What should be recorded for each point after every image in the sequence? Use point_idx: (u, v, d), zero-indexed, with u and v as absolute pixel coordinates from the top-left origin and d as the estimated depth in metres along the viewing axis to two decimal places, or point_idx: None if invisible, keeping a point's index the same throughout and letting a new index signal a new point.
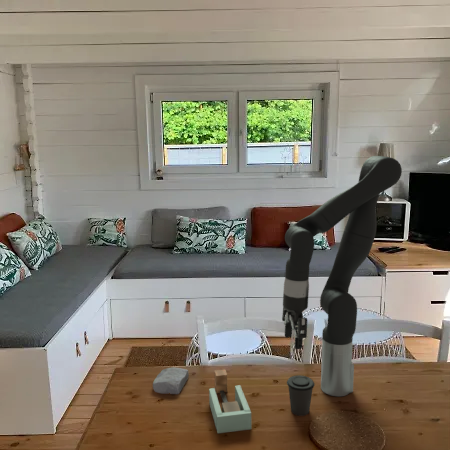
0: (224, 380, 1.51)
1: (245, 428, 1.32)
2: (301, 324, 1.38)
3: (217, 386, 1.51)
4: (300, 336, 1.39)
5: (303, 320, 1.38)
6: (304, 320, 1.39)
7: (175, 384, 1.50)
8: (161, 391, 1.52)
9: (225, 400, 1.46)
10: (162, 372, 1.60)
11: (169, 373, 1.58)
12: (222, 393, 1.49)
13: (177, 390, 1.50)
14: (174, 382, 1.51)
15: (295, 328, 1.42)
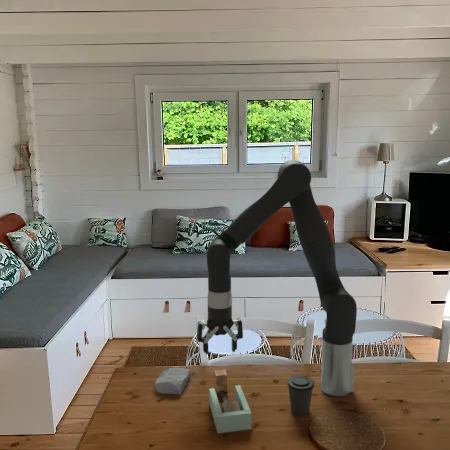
0: (224, 380, 1.51)
1: (245, 428, 1.32)
2: None
3: (217, 386, 1.51)
4: None
5: None
6: (240, 320, 1.50)
7: (177, 384, 1.50)
8: (163, 391, 1.51)
9: (225, 400, 1.46)
10: (164, 372, 1.59)
11: (171, 373, 1.57)
12: (222, 393, 1.49)
13: (179, 390, 1.50)
14: (176, 382, 1.51)
15: (233, 333, 1.49)
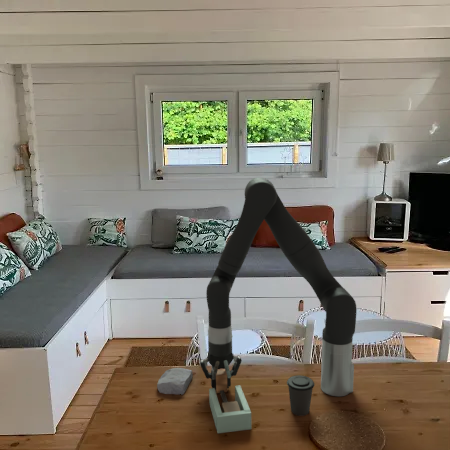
0: (224, 380, 1.51)
1: (245, 428, 1.32)
2: None
3: (217, 386, 1.51)
4: None
5: None
6: None
7: (180, 384, 1.50)
8: (166, 391, 1.51)
9: (225, 400, 1.46)
10: (166, 372, 1.59)
11: (173, 373, 1.57)
12: (222, 393, 1.49)
13: (182, 390, 1.50)
14: (178, 382, 1.51)
15: (229, 370, 1.51)
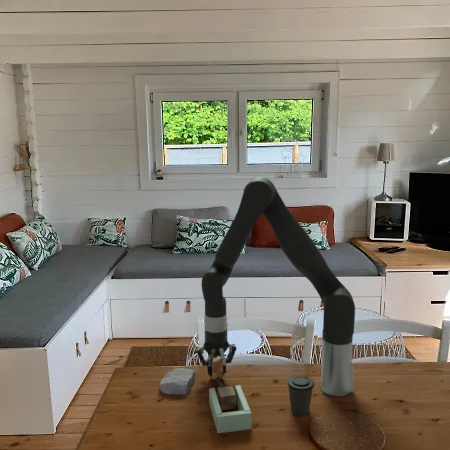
0: (220, 367, 1.57)
1: (245, 428, 1.32)
2: None
3: (213, 373, 1.57)
4: None
5: None
6: None
7: (182, 385, 1.50)
8: (168, 392, 1.51)
9: (221, 386, 1.52)
10: (168, 373, 1.59)
11: (176, 374, 1.57)
12: (218, 379, 1.56)
13: (184, 391, 1.50)
14: (181, 383, 1.50)
15: (224, 357, 1.58)
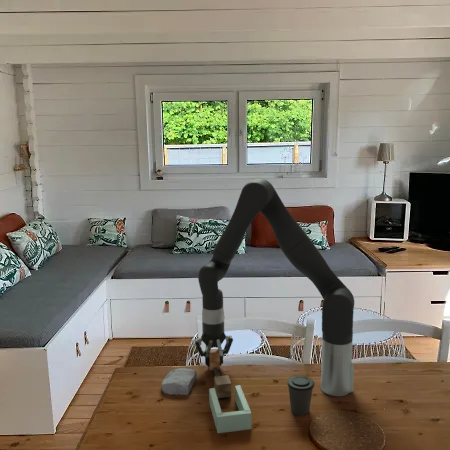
0: (217, 358, 1.64)
1: (245, 428, 1.32)
2: None
3: (210, 363, 1.64)
4: None
5: None
6: None
7: (184, 385, 1.50)
8: (170, 392, 1.51)
9: (218, 375, 1.59)
10: (170, 373, 1.59)
11: (177, 374, 1.57)
12: (215, 369, 1.63)
13: (186, 391, 1.50)
14: (183, 383, 1.50)
15: (221, 348, 1.64)
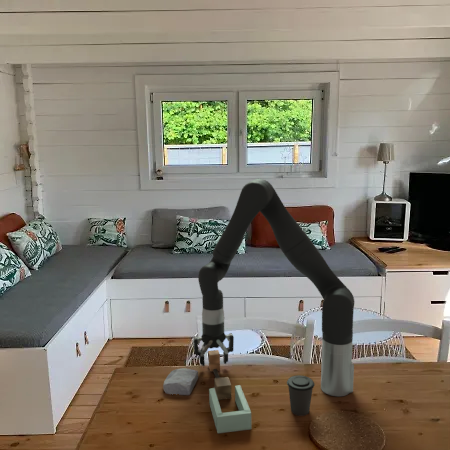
0: (217, 359, 1.64)
1: (245, 428, 1.32)
2: None
3: (210, 365, 1.64)
4: None
5: (232, 335, 1.65)
6: (232, 335, 1.66)
7: (186, 385, 1.50)
8: (172, 392, 1.51)
9: (218, 377, 1.59)
10: (172, 373, 1.59)
11: (179, 374, 1.57)
12: (215, 371, 1.63)
13: (188, 391, 1.50)
14: (185, 383, 1.50)
15: (224, 347, 1.64)
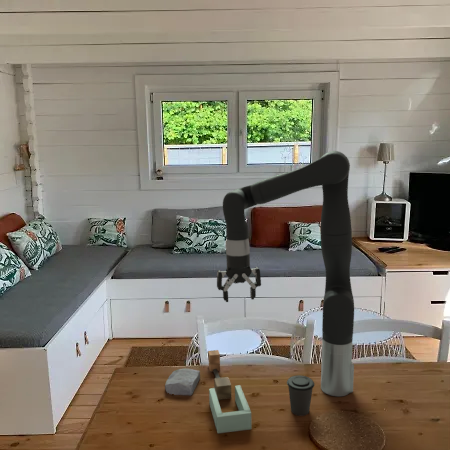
0: (217, 359, 1.64)
1: (245, 428, 1.32)
2: None
3: (210, 365, 1.64)
4: None
5: None
6: (258, 268, 1.56)
7: (188, 385, 1.50)
8: (174, 392, 1.51)
9: (218, 377, 1.59)
10: (173, 373, 1.59)
11: (181, 374, 1.57)
12: (215, 371, 1.63)
13: (190, 391, 1.50)
14: (187, 383, 1.50)
15: (251, 281, 1.54)
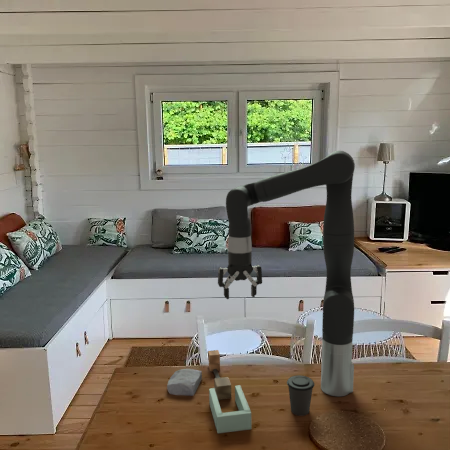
0: (217, 359, 1.64)
1: (245, 428, 1.32)
2: None
3: (210, 365, 1.64)
4: None
5: None
6: None
7: (190, 385, 1.49)
8: (176, 393, 1.50)
9: (218, 377, 1.59)
10: (175, 373, 1.59)
11: (183, 374, 1.57)
12: (215, 371, 1.63)
13: (192, 391, 1.50)
14: (189, 383, 1.50)
15: (252, 278, 1.54)
